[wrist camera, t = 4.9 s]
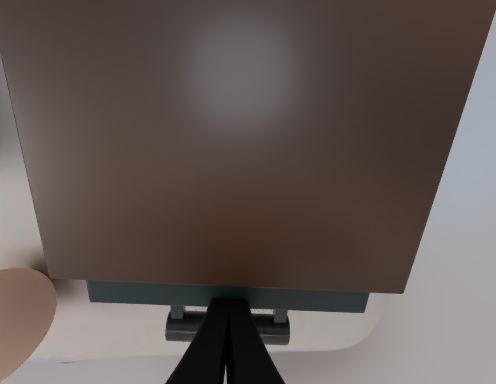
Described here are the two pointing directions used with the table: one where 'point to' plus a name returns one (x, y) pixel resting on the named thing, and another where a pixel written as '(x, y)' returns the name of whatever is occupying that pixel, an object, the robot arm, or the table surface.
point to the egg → (23, 315)
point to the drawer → (188, 322)
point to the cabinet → (238, 134)
